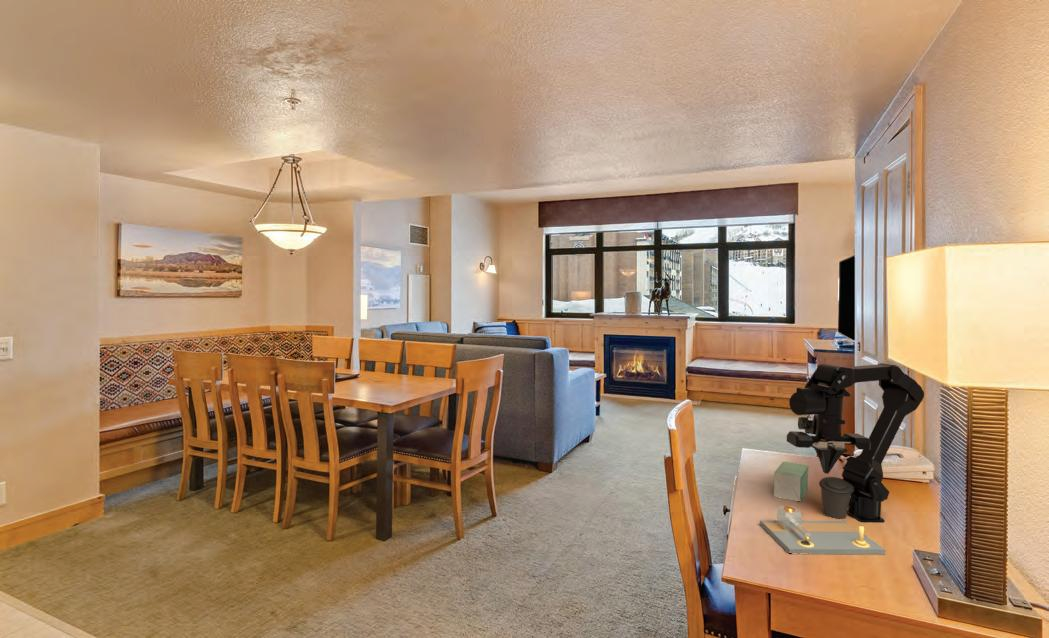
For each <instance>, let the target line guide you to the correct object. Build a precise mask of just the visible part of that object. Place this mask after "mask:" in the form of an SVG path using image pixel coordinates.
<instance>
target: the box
mask: <svg viewBox="0 0 1049 638" xmlns="http://www.w3.org/2000/svg"><path fill="white" fill-rule="evenodd" d="M773 477H774V478H773V479H774V480H773V481H774V482H773V483H774V484H773V497H775V496H776V497H775V498H778V497H781V498H780V499H782V498H786V499H785V500H787V499H790V500H789V501H792V500H795V501H794V502H797V501H800V502H801V501H802V500H803V498H804V496H805V494H806V492H807V489H808V484H809V483H808V481H809V466H808V465H805V464H801V463H796V462H789V461H782V462H781V464H780V465H779V466H778V467H777V469H776V470H774V475H773Z"/></svg>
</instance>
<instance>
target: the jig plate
mask: <svg viewBox="0 0 1049 638" xmlns="http://www.w3.org/2000/svg"><path fill="white" fill-rule="evenodd" d="M759 525H760V527H761V528H763V530H765V532H766V533H767V534H768V535H770V537H772V539H773V540H775V541H776V543H778V545H780V546H781V547H782V548H783V550H785V551H786V552H787V553H788V554H789V553H811V554H810V555H869V556H870V555H872V556H873V555H878V556H879V555H880V556H881V555H885V554H886V549H885V548H884V547H882V546H881V545H880V544H878V543H877V542H875V541H874V540H872V539H871V538H870V537H868V536H867V535H865V526H863V525H858V528H856V527H855V526H853V525H852V524H851V523H849V522H847V521H846V520H801V526H802V527H803V528H804V529H806V530H807V531H808V532H809V533H810V537H809V543H808V542H805V536H804V535H802V534H801V533H800V532H799V531H787V530H784V529H782V528H781V527H780V526H779V525H778V524H777V519H775V520H771V519H768V520H765V519H762V520H761V519H760V520H759Z"/></svg>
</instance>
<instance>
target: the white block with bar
mask: <svg viewBox="0 0 1049 638" xmlns="http://www.w3.org/2000/svg"><path fill="white" fill-rule="evenodd" d="M776 509H777V510H776V520H777V524H778V525H779V526H780V527H781V528H782V529H784V530H787V531H799V532H800V533H801V534H802V535H804V536H805V542H808V543H809V537H810V533H809V532H808V531H807V530H806V529H804V528H803V527H802V526H801V521H802V511H800V510H799V509H797V508H796V507H795V506H793V505H777V507H776Z"/></svg>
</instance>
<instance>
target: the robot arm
mask: <svg viewBox="0 0 1049 638" xmlns="http://www.w3.org/2000/svg"><path fill="white" fill-rule="evenodd" d="M875 381H876V382H877V381H878V386H879V388H881V390H882V391H883V393H882V395H881V398H882V399H881V400H882V404H883V408H882V409H881V410H882V411H881V413H880V415H879V417H878V418H877V420H876V422H875V425H874V427H873V428H872V431H871V433H870V435H869V436H868V437H866V436H863V435H862V434H860V433H854V432H853V433H851V432H849V433H848V432H844V433H843V435H842V428H843V426H842V425H845V424H846V420H845V419H843V412H844V410H843V409H844V397H845V398H847V397H851V394H850V392H849V391H848V390H846V389H847V388H850V387H852V386H853V385H854V384H857V383H866V382H875ZM924 398H925V391H924V390H923V387H922V386H921V384H919V383H918V382H917V381H916V380H915V379H914V378H912V377H911V376H909V375H908V374H907V373H905V372H904V371H903V370H902V369H901V367H899V366H898V365H896V364H889V363H882V362H881V363H877V364H868V365H867V364H866V365H856V366H855V365H853V366H842V365H841V366H840V365H837V364H836V365H835V364H828V363H820V364H818V366H817V368H816V369H815V371H814V372H813V373H812V375H811V377H809V379H808V381H807V382H806V384H805V386H804V387H797V388H796V392H794V393H792V394H791V396H790V398H789V407H790V410H791V411H792V413H793V414H794V415H796V416H799V417H798V419H797V428H798V429H799V430H804V431H793V430H792V431H789V432H788V433H787V435H786V442H787V443H789V444H790V445H792V446H794V447H795V448H802V449H803V448H807V449H809V448H812V449H814V450H815V452H816V454H817V457H818V459H819V463H820V466H821V469H822V473H824V474H829V473H830V472H831V470H832V469H833V468H834V466H835V465H836V463H837V462H838V460H839V459H840V458H841V457H842V455H843V454H844V453H848V449H847V448H845V446H847V445H849V446H850V445H852V446H855V447H856V448H857V449H858V450H860V451H861V450H862V451H861V453H860V454H859V455H857V456H856V457H855V456H853V455H849V456H848V458H847V460H846V463H845V464H844V466H843V467H842V470H843V471H842V473H841V478H842V479H843V480H845V481H847V482H848V483H850V484H852V486H853V488H854V492H852V493H851V497H850V502H849V506H848V511H847V514H849V515H851V516H852V517H853V518H855V519H856V520H858V521H859V522H863V523H867V522H869V523H870V522H872V523H876V522H877V523H880V522H881V523H884V522H885V521H886V520H885V519H884V518H883V517H881V516H882V513H881V512H882V502H884V501H886V500H888V497H889V494H890V490H889V489H888V488H887V487H886V486H885V485H884V484H883V483H882V481H883V478H884V471H883V466H882V464H883V461H884V459H885V457H886V456H887V453H888V452H889V451H888V450H889V449H890V447H891V445H892V443H893V441H894V439H895V437H896V435H897V433H898V430H899V429H900V426H901V425H902V422H903V421H904V419H905V417H906V416H908V415H910V414H912V413H913V412H915V411H916V410H917V409H918V407H919V406H920V404H921V403H922V401H923V399H924ZM809 415H813V417H812V419H809V418H808V417H805V416H809ZM810 434H811V435H810Z"/></svg>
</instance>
